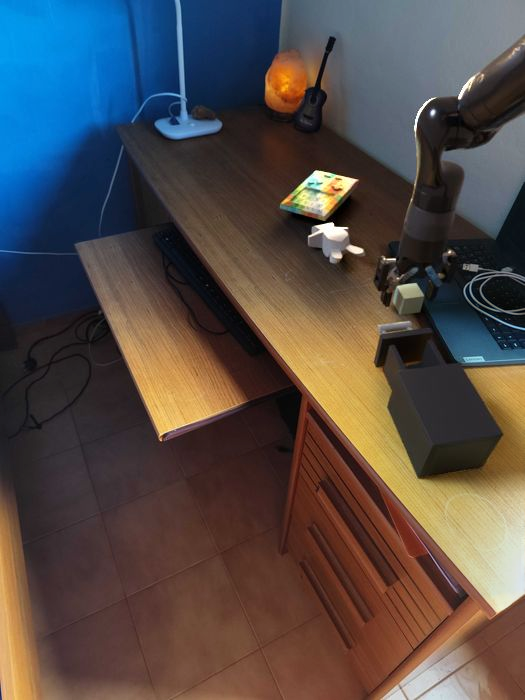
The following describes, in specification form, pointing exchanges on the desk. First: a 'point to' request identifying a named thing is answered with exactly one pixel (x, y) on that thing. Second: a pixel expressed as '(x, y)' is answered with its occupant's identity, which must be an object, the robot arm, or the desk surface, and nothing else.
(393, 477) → the desk surface
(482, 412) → the dark box
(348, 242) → the bunny figurine
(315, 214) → the puzzle game
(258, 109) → the desk surface
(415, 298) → the block
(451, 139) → the robot arm
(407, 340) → the drawer
